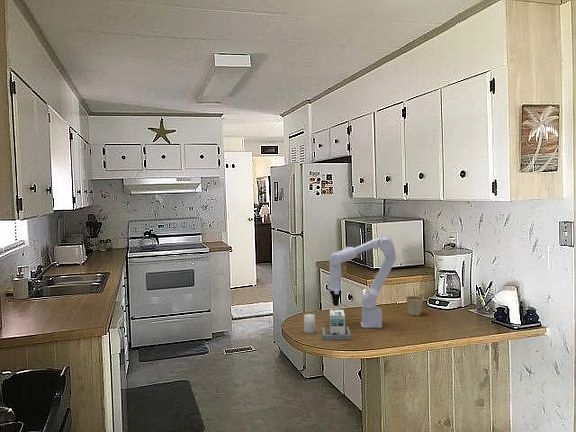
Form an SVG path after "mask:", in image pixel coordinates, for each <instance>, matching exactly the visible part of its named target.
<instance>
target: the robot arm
mask: <svg viewBox="0 0 576 432" xmlns="http://www.w3.org/2000/svg"><path fill="white" fill-rule="evenodd" d="M371 249H375V250H379V249H380V251H382V253H383V256H384V259H383V262H382V264H381V266H380V268H379V269H378V272H377V273H376V275H375V278H374V280H373V281H372V283H371V285H370V287H369V288H368V290H367V291H366V292H365V293H364V294H363V295H362V306H361V321H360V325H361V328H364V329H365V328H369V329H370V328H372V329H373V328H383V313H382V312H383V311H382V308H381V307H378V305H377V299H378V297H379V294H380V291H381V290H382V288H383V285H384V283H385V281H387V278H388V276H389V275H390V274H389V273H390V272H391V270H392V269H393V266H394V264H395V262H396V261H397V260H396V259H397V256H396V255H397V254H396V248H395V245H394V242H393V240H392V238H391V237H390V236H387V235H383V236H381V237H377V238H374V239H371V240H369V241H367V242H364V243H362V244H360V245H358V246H356V247H352V246H346V247H345V248H344V249H342V250H337V251H336V252H333V253H332V254H331V255H329V258H328V262H329V286H327V287H326V288H327V289H328V290H329V294H330V295H331V300H332V304H333V306H334V307H337V306H339V302H340V299H341V294H342V293H343V292H342V289H343V287H342V268H341V267H342V265H341V263H345V262H348V261H350V260H353V259H355V258H356V257H357V255H358V254H361V253H363V252H366V251H368V250H371Z"/></svg>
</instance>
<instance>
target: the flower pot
mask: <svg viewBox="0 0 576 432" xmlns="http://www.w3.org/2000/svg"><path fill="white" fill-rule="evenodd" d="M405 299H406V303H407V313H408V315H410V316H416V317H417V316H418V317H419V316H421V314H422V309H423V304H424V303H423V302H424V300H425V298H424V297H423V296H419V295H418V296H417V295H409V296H406V297H405Z"/></svg>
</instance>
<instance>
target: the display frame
mask: <svg viewBox="0 0 576 432" xmlns="http://www.w3.org/2000/svg"><path fill="white" fill-rule="evenodd" d="M321 335H322V336H321V337H322V341H351V340H352V334H351V330H350V328H349V326H345V335H330V334H326V329H325V326H322V327H321Z"/></svg>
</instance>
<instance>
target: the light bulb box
mask: <svg viewBox="0 0 576 432" xmlns="http://www.w3.org/2000/svg"><path fill="white" fill-rule="evenodd" d="M329 329H330V331H329V335H346V314H345V310H344V309H329Z"/></svg>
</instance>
